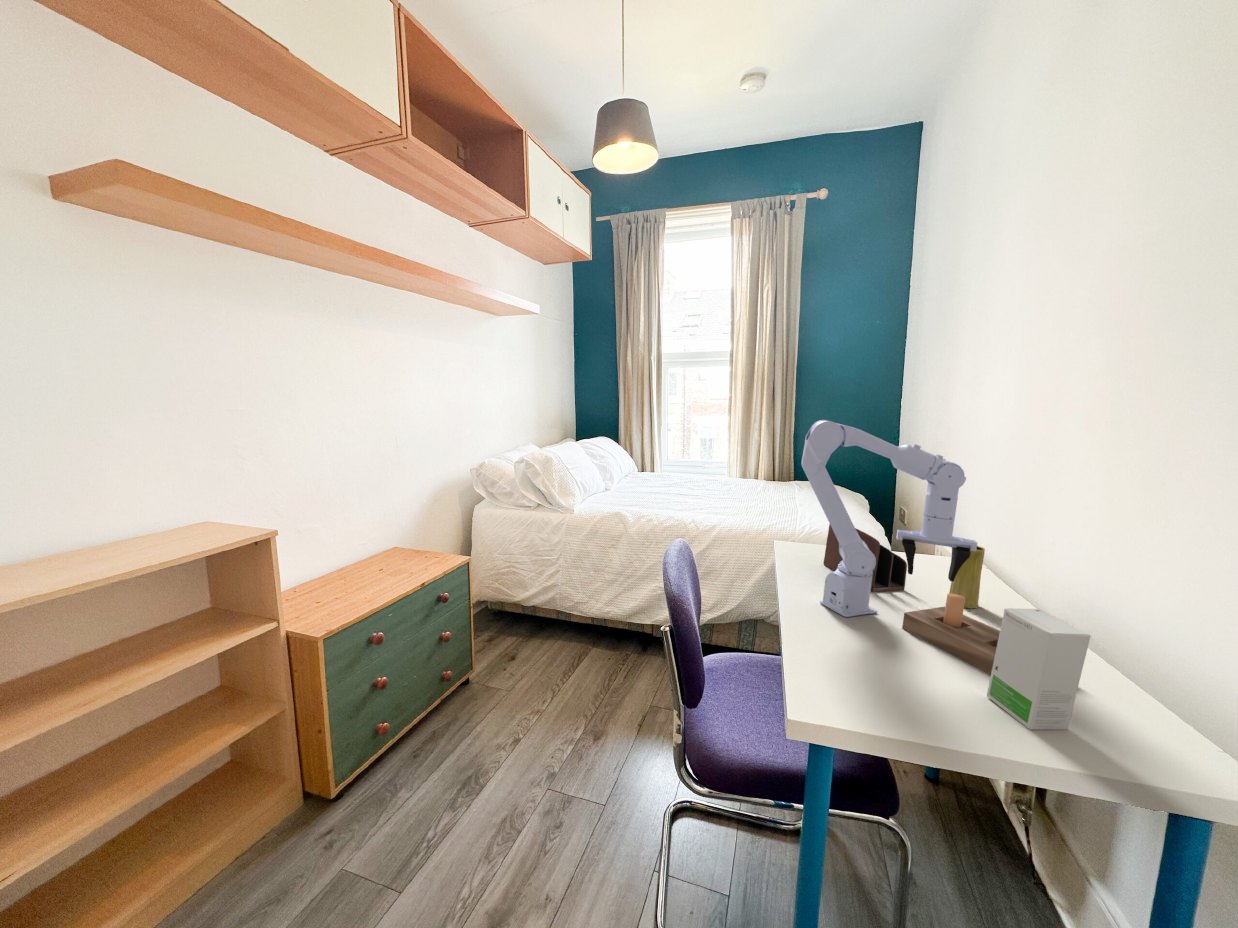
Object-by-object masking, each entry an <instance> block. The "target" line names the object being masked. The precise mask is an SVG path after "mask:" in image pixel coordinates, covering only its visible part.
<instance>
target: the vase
mask: <svg viewBox="0 0 1238 928" xmlns="http://www.w3.org/2000/svg"><path fill="white" fill-rule="evenodd" d="M970 552H971V555H970V557H969V558H968V559H967V560H966V561H965V562H964V564H963V565H962V566H961V568H960V569H959V571H958V573H957V575H956V577H955V579H954V582H952V581H950V582H951V583H950V588H949V591H948V594H949V593H952V594H958V595H961V596H963V597H965V604H964V609H977V608H978V607H979V598H980V590H981V589H980V588H981V577H982V569H983V565H984V559H985V552H986V551H985V548H984V547H982V546H979V545H977V549H976V551H971V550H970Z"/></svg>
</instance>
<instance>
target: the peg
mask: <svg viewBox="0 0 1238 928" xmlns="http://www.w3.org/2000/svg"><path fill="white" fill-rule="evenodd" d="M945 601H946V602H945V606H944V607H945V613H944V620H943V623H945V624H947V625H949V626H951V627H953V628H955V629H956V628H961V623H962V617H963V615H964V611H965V610H964V609H965V607H964V604H965V597H963V596H961V595H958V594H952V593H949V592H948V593H947V595H946V600H945Z"/></svg>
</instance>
